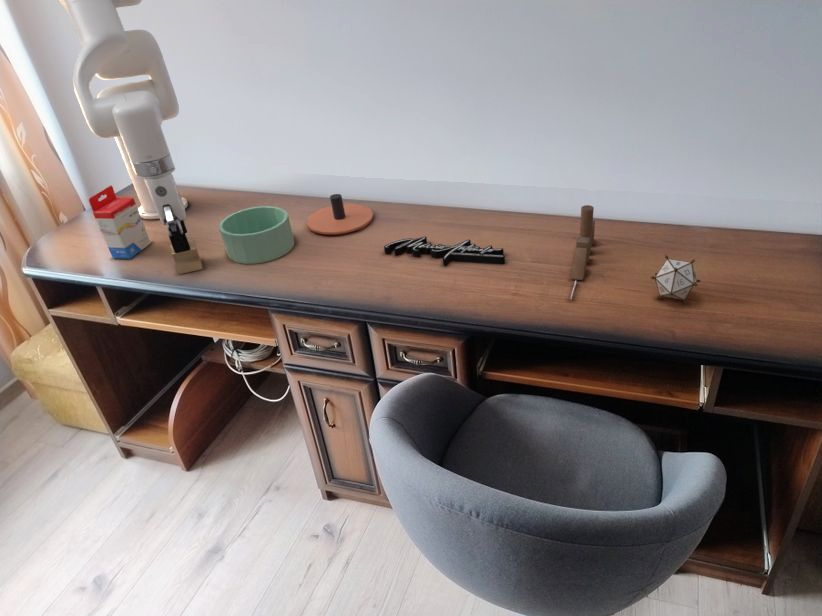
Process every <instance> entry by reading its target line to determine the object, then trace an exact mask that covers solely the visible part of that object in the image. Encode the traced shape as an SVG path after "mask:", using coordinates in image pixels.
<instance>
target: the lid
mask: <svg viewBox="0 0 822 616" xmlns="http://www.w3.org/2000/svg"><path fill="white" fill-rule="evenodd" d="M329 200H330V206H326V207H323V208H320V209H318V210H316V211H314V212H313V213H311V214H310V215H309V216H308V218H307V219H306V226H307V228H308V230H310V231H312V232H314V233H317V234H321V235H342V234H347V233H352V232H356V231H358V230H361V229H362V228H364V227H366V226H368V225H369V224H370V223H371V222H372V220H373V218H374V213H373V210H372V209H370V208H369V207H368V206H366V205H363V204H358V203H344V202H343V195H342V194H340V193H334V194H331V195H330V196H329Z"/></svg>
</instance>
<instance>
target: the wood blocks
mask: <svg viewBox="0 0 822 616" xmlns="http://www.w3.org/2000/svg"><path fill="white" fill-rule="evenodd" d="M595 227H596V219H594V206H593V205H589V204H587V205H586V204H585V205H582V206H581V208H580V225H579V236H578V237H577V239H576V242H575V247H574V250H573V257H572V258H573V259H572V265H571V273H570V280H575V281H574V283H573V288H572V291H571V294H570V300H572V299H573V296H574V292H575V289H576V286H577V281H583V280H584V278H585V274H586V271H587V265H588V263H589V260H590V254H591V253H592V246H593V244H594V241H595V230H596V228H595Z"/></svg>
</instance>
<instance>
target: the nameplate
mask: <svg viewBox="0 0 822 616" xmlns="http://www.w3.org/2000/svg"><path fill="white" fill-rule="evenodd" d="M383 250H384V255H391V254H392V252H393V251H394V256H401V255H402V254H405V253H406V254H409V255H412V257H414V258H421V255H427V256H429V255H430V257H431V258H433V259H442V265H443V266H444V267H447V266H448V264H449V263H450V262H459V263H476V264H490V265H492V264H493V265H504V264H505V263H506V256H505V255H504V247H503V248H502V247H500V248H494V247H493V245H492V244H491V245H490V244H489V245H488V246H486V247H484V248H483V247H481V246H478V245H476V243H471V239H466V240H464V241H461V242H459V243H457V244H454V245H445V244H442V243H438V244H437V245H436V244H432V242H428V238H427V236H421V237H416V238H412V237H411V238H410V237H409V238H408V237H407V238H402V239H399V240H395V241H391V242H389V243H387V244H385V245H384V246H383Z"/></svg>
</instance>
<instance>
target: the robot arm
mask: <svg viewBox="0 0 822 616" xmlns="http://www.w3.org/2000/svg"><path fill="white" fill-rule="evenodd" d="M57 1H58V2H59V4H60V5H61V6H62V7H63V9H64V10H65V12H66V13H67V14H68V16H69V18H70V20H71V22H72V25H73V27H74V30H75V32H76V35H77V38H78V40H79V42H80V45H81V51H80V52H79V54H78V56H77V59H76V61H75V62H74V67H73V72H72V84H73V89H74V94H75V96H76V98H77V101H78V104H79V106H80V109H81V111H82V114H83V116H84V119H85V121H86V123H87V125H88V127H89V129H90V131H91V132H92V134H94V135H95V136H96V137H99V138H101V139H110V138H111V139H112V138H114V139H115V143H116V144H117V148H119V152H120V154H121V157H122V160H123V162H124V164H125V167H126V170H127V173H128V175H129V178H130V180H131V182H132V185H133V187H134V190H135V192H136V195H137V198H138V200H139V203H140V206H139V207H137V208H138V211H139V213H140V216H141V218H142V219H145V220H160V222H161V223H162V225H164V226H166V230H167V233H168V238H169V240H170V245H172V246H173V249H174V252H175V253H180V252H184V251H189V250H190V245H189V243H188V241H189V240H188V237H187V235H186V234H187V233H188V230H187V226H186V223H185V221H187V213H186V209H187V207H188V206H189V203H188V200H187V199H186V198H184V197H183V196H181V195H180V192H179V188H178V186H177V183H176V180H175V178H174V175H173V172H175V171H176V166H175V164H174V161H173V158H172V155H171V152H170V149H169V146H168V143H167V141H166V138H165V135H164V132H163V128H162V125H163V121H167V120H172V119H175V118H176V117H177V116H178V115H179V113H180V105H179V101H178V98H177V95H176V91H175V89H174V86H173V83H172V80H171V77H170V74H169V71H168V67H167V64H166V60H165V59H164V55H163V53H162V49H161V48H160V45H159V43H158V41H157V40H156V38H155V36H154V35H153V34H152V33H151V32H150V31H148V30H146V29H138V28H137V29H131V30H125V28H124V25H123V23H122V20H121V18H120V16H119V12H118V10H117V8H125V7H126V8H127V7H132V6H138V5H140V4H141V3H142V1H143V0H57ZM95 76H96V77H97V79H98V78H99V79H100V80H104V81H112V80H119V79H126V78H132V77H138V76H147V77H148V78H149V79H146V80H140V81H135V82H126V83H121V84H115V85H111V86H108V87H105V88H103V89H102V90H101V91H99V92H98V94H97V96H96V98H94V97H93V94H92V90H91V83H92V80H93V79H94V77H95Z"/></svg>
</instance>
